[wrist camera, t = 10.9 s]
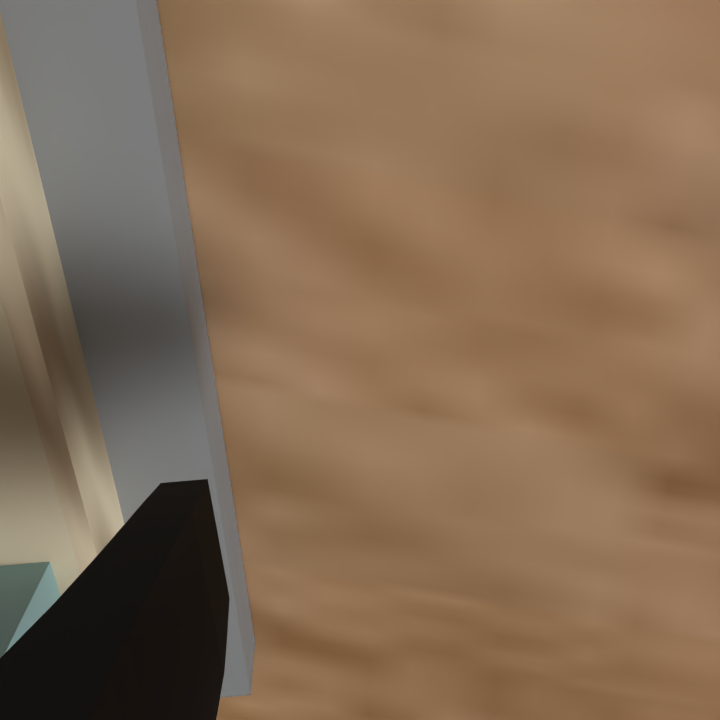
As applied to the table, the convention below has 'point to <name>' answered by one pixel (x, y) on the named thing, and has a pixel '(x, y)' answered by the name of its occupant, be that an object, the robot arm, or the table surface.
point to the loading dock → (129, 257)
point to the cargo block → (24, 599)
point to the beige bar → (43, 378)
